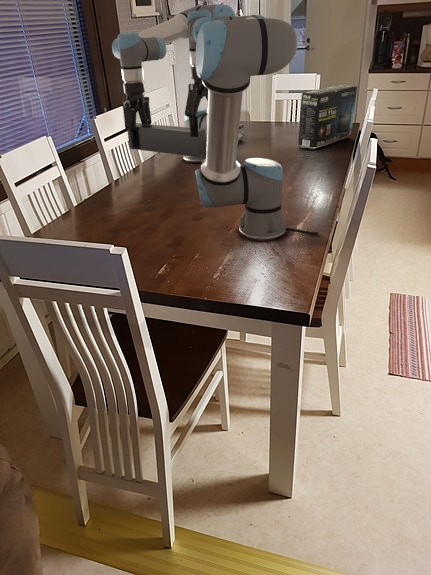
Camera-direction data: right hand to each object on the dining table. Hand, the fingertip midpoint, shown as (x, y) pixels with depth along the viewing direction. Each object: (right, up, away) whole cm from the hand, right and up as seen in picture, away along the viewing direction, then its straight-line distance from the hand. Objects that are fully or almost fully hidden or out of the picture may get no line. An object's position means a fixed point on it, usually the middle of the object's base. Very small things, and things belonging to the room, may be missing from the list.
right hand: (204, 132), depth 161 cm
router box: (+62, +23, +84) cm, 107 cm away
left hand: (-25, +1, +18) cm, 31 cm away
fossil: (+11, +27, +95) cm, 99 cm away
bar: (-15, -3, +13) cm, 19 cm away
